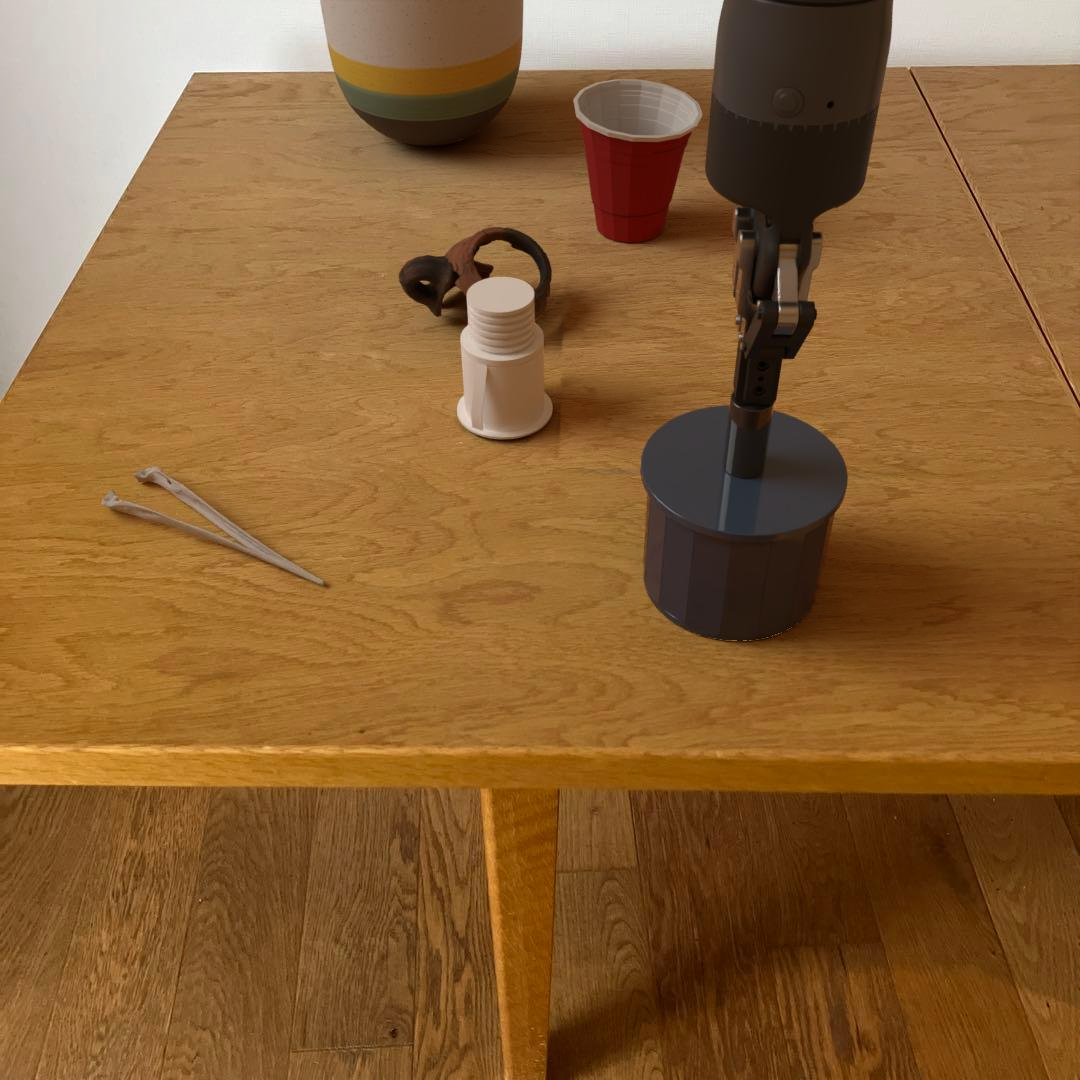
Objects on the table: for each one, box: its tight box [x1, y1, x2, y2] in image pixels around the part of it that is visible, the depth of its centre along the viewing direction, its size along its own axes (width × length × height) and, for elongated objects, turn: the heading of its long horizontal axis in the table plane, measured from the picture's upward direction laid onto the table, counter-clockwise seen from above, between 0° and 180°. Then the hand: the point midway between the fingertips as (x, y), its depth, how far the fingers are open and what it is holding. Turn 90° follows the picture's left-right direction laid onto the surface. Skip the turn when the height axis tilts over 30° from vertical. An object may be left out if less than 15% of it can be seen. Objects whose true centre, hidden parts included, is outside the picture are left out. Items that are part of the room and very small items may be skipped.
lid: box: [639, 390, 849, 543], centre depth 68 cm, size 12×12×6 cm
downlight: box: [456, 276, 554, 440], centre depth 85 cm, size 8×7×10 cm
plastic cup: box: [572, 78, 704, 244], centre depth 103 cm, size 11×11×12 cm
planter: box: [319, 0, 524, 147], centre depth 116 cm, size 20×20×21 cm
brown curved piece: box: [398, 226, 553, 321], centre depth 95 cm, size 12×10×8 cm
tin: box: [642, 493, 836, 642], centre depth 72 cm, size 11×11×8 cm
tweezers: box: [101, 465, 325, 586], centre depth 78 cm, size 17×5×2 cm, turn 58°
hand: (753, 397), depth 66 cm, fingers closed
